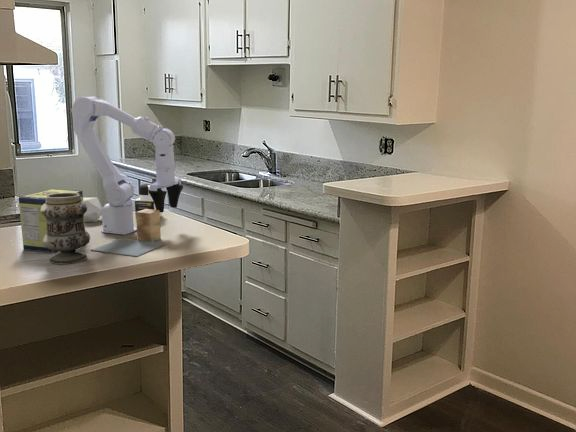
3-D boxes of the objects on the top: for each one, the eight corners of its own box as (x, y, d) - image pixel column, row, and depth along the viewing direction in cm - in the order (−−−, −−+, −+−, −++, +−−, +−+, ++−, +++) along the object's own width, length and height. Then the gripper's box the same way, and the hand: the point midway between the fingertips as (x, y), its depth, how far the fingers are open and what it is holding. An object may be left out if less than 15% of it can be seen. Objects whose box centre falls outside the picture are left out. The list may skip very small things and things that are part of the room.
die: (88, 226, 202) (104, 202, 203) (66, 213, 202) (82, 188, 204) (95, 229, 210) (111, 206, 212) (74, 216, 211) (90, 193, 212)
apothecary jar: (84, 250, 171) (79, 189, 167) (97, 260, 161) (92, 195, 157) (40, 257, 165) (34, 193, 161) (50, 268, 155) (44, 200, 151)
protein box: (87, 240, 183) (83, 190, 179) (51, 253, 168) (47, 199, 165) (59, 237, 186) (54, 188, 183) (22, 250, 172) (17, 197, 168)
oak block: (137, 240, 182) (135, 212, 180) (147, 236, 187) (145, 208, 185) (151, 242, 180) (149, 213, 178) (160, 238, 185) (159, 210, 183)
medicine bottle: (135, 219, 210) (133, 186, 207) (143, 215, 217) (141, 182, 214) (154, 220, 209) (153, 186, 206) (162, 216, 215) (160, 183, 213)
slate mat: (90, 250, 171) (90, 249, 171) (121, 239, 184) (121, 238, 184) (136, 257, 165) (136, 255, 165) (165, 244, 178) (165, 243, 178)
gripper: (162, 171, 180) (164, 215, 183) (188, 165, 193) (189, 206, 196) (143, 170, 182) (145, 213, 185) (169, 164, 196) (171, 204, 199)
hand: (167, 209), depth 191 cm, fingers open, 7 cm apart
